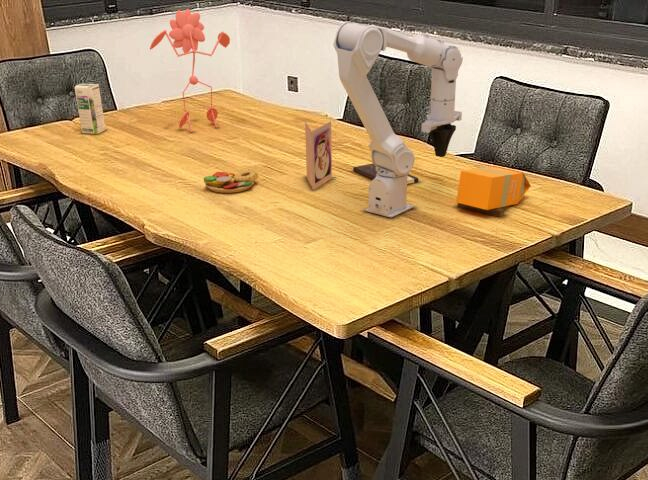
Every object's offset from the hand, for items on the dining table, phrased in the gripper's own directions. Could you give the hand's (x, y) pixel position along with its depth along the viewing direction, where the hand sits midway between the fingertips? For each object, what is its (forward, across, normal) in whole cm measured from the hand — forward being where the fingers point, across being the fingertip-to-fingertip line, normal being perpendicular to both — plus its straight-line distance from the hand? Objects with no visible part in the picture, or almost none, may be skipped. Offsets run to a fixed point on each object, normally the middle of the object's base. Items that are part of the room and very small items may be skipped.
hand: (440, 155), depth 205 cm
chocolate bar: (+10, -6, -21) cm, 24 cm away
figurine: (+10, -12, -104) cm, 105 cm away
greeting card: (+10, +10, -33) cm, 36 cm away
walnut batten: (+10, +2, +14) cm, 17 cm away
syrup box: (+10, +14, -125) cm, 126 cm away
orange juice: (+4, +6, +14) cm, 16 cm away
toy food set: (+10, +26, -48) cm, 56 cm away
